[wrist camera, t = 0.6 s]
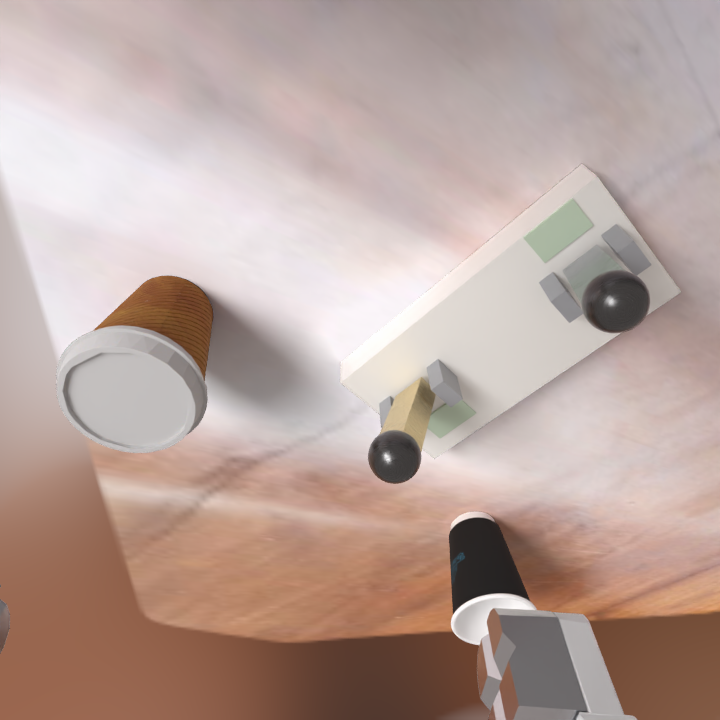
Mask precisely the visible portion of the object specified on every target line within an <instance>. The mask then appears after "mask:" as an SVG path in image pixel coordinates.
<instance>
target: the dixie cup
mask: <svg viewBox="0 0 720 720" xmlns="http://www.w3.org/2000/svg"><path fill="white" fill-rule="evenodd" d="M449 545H450V564H451V583H452V602H453V616H452V619H451V627H452V630H453V632H454V633H455V635H456V636H458V637H459V638H460V639H462V640H464V641H466V642H468V643H471V644H476V645H480V642H481V638H483V637H484V636H486V635H487V634H489V632H488V626H487V619H488V616H489V613H490V611H491V610H492V609H493V608H504V609H522V610H537V609H536V607H535V606H534V605H533V604H532V603H531V602H530V599H529V597H528V595H527V592H526V590H525V587H524V585H523V583H522V580H521V578H520V575H519V573H518V571H517V568H516V566H515V564H514V561H513V559H512V556H511V554H510V552H509V549H508V547H507V544H506V542H505V540H504V537H503V535H502V532H501V530H500V528H499V526H498V525H497V524H496V523H495V521H494V519H493V518H492V517H491V516H490V515H489V514H487V513H484V512H478V511H473V512H467V513H464V514H462V515H460V516H458V517H457V518H456V519H455V520H454V521H453V522H452V524H451V531H450V534H449Z"/></svg>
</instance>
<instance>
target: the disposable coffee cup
mask: <svg viewBox="0 0 720 720" xmlns="http://www.w3.org/2000/svg"><path fill="white" fill-rule="evenodd" d="M212 321H213V310H212V306H211V304H210V302H209V299H208V298H207V296H206V295H205V294H204V292H203V291H202V290H201V289H200V288H199V287H197V286H196V285H194V284H193V283H191V282H190V281H188V280H185V279H182V278H179V277H175V276H159V277H155V278H152V279H150V280H147V281H146V282H145V283H143V284H142V285H141V286H140V287H139V288H138V289H137V290H136V291H135V292H134V293H133V294H132V295H131V296H130V297H128V298H127V299H126V300H125V301H124V302H123V303H122V304H121V305H120V306H119V307H118V308H117V309H116V310H115V311H114V312H112V314H110V315H109V316H108V317H107V318H106V319H105V320H104V321H103V322H102V323H101V324H100V325H99V326H98V327H96V328H95V330H93V331H91V332H89V333H87V334H85V335H82V336H81V337H79V338H78V339H76V340H75V341H73V342H72V343H71V344H70V345H69V346H68V347H67V348H66V349H65V351H64V352H63V354H62V356H61V357H60V360H59V363H58V365H57V375H56V378H57V384H56V388H57V398H58V402H59V404H60V407H61V409H62V411H63V413H64V414H65V416H66V418H67V419H68V420H69V421H70V422H71V424H72V425H73V426H74V427H75V428H76V429H77V430H79V431H80V432H81V433H82V434H84V435H85V436H87V437H88V438H90V439H91V440H93V441H95V442H97V443H99V444H101V445H103V446H106V447H109V448H112V449H115V450H119V451H123V452H131V453H149V452H154V451H159V450H163V449H166V448H169V447H171V446H173V445H175V444H176V443H178V442H179V441H181V440H182V439H183V438H184V437H185V436H186V435H187V434H189V433H190V432H191V431H192V430H193V429H194V428H195V427H196V426H197V425H198V424H199V423H200V421H201V420H202V418H203V416H204V413H205V410H206V406H207V387H206V384H205V382H204V381H205V372H206V366H207V360H208V351H209V343H210V336H211V329H212Z"/></svg>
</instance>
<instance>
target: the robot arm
mask: <svg viewBox="0 0 720 720" xmlns="http://www.w3.org/2000/svg"><path fill="white" fill-rule="evenodd" d="M0 587H1V585H0ZM487 626H488V632H489V634H487V635H486V636H484V637H483V638H481V642H480V646H479V650H478V660H477V676H478V686H479V693H480V699H481V700H482V701H483V702H484V704H485V705H486V706H487V707H488V709H489V710H490V714H489V717H488V720H637V719H636V718H635V717H634V716H629V715H624V713H623V710H622V708H621V705H620V702H619V700H618V697H617V694H616V692H615V689H614V686H613V684H612V681H611V678H610V676H609V673H608V670H607V668H606V665H605V662H604V660H603V657H602V655H601V652H600V649H599V647H598V644H597V641H596V639H595V636H594V633H593V631H592V628H591V625H590V623H589V620H588V619H587V618H586V617H585V616H584V615H583V614H574V613H557V612H551V611H539V610H522V609H504V608H493V609H492V610H491V611H490V613H489V616H488V619H487ZM9 629H10V613H9V610H8V607H7V604H5V603H4V602H3V601H2V600H0V653H1V651H2V649H3V648H4V645H5V641H6V638H7V635H8V632H9Z"/></svg>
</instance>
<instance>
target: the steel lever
mask: <svg viewBox="0 0 720 720" xmlns="http://www.w3.org/2000/svg"><path fill="white" fill-rule="evenodd" d="M562 271H563V273H564V274H565V276H566V278H567V280H568V281H569V283H570V285H571V287H572V288H573V290H574V292H575V294H576V295H577V297H578V299H579V301H580V302H581V306H582V311H583V314H584V316H585V318H586V319H587V321H588V322H589V323H590V324H591V325H592V326H593V327H595V328H596V329H598V330H600V331H603V332H606V333H623V332H626V331H629V330H631V329H633V328H635V327H636V326H638V325H639V324H640V323H641V322H642V321H643V320H644V318H645V317H646V315H647V313H648V311H649V307H650V294H649V290H648V288H647V286H646V285H645V283H644V282H643V281H642V280H641V279H640V278H639V277H638V276H636V275H635V274H633V273H630V272H627V271H626V270H625V269H623V268H622V267H621V266H620V265H619V264H618V263H617V262H616V261H614V260H613V259H612V258H611V257H610V256H609V255H608V254H607V253H605V252H604V251H603V250H602V249H601V248H600V247H599V246H598V245H596V246H594V247H593V248H592V249H590V250H589V251H588V252H586V253H585V254H584V255H582V256H581V257H580V258H578V259H577V260H576V261H574V262H573V263H572V264H570V265H569V266H568V267H566V268H565V269H564V270H562Z"/></svg>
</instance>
